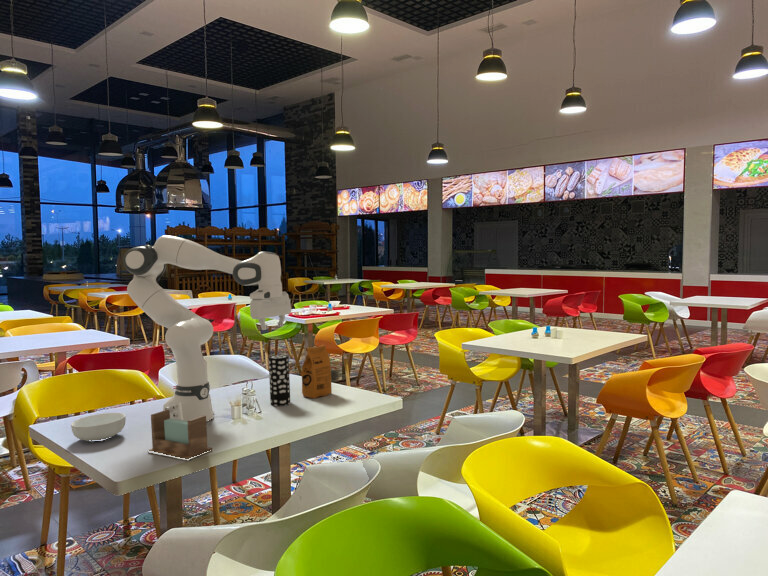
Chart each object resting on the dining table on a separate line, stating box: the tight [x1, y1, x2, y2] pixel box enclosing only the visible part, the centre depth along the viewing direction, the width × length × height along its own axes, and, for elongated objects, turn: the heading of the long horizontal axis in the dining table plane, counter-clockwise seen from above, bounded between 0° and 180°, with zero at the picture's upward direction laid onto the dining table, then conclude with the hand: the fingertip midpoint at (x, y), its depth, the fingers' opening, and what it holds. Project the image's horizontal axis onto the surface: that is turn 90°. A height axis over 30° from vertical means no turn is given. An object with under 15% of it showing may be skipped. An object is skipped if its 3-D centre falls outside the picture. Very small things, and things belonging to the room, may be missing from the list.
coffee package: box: [301, 344, 333, 399], centre depth 245 cm, size 10×12×22 cm
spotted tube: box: [268, 354, 291, 407], centre depth 233 cm, size 8×8×20 cm
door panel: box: [164, 418, 189, 444], centre depth 176 cm, size 11×2×9 cm, turn 61°
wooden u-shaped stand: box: [148, 410, 213, 459], centre depth 176 cm, size 18×10×12 cm, turn 61°
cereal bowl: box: [70, 412, 127, 442], centre depth 193 cm, size 17×17×7 cm
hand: (272, 328), depth 215 cm, fingers open, 8 cm apart
